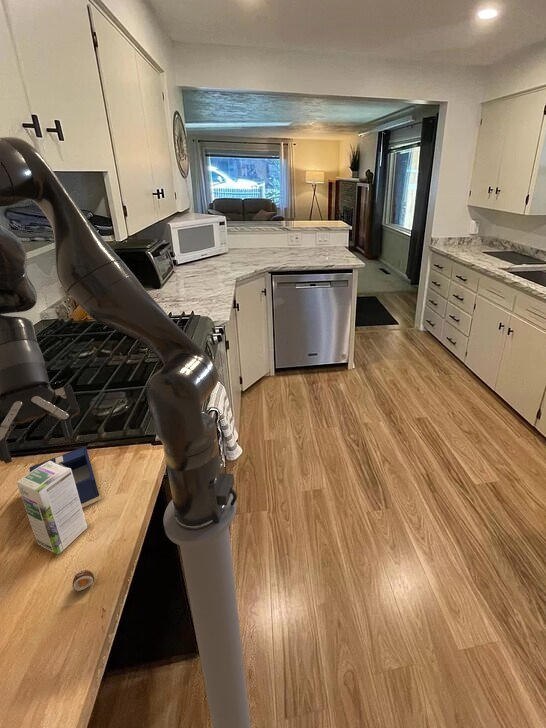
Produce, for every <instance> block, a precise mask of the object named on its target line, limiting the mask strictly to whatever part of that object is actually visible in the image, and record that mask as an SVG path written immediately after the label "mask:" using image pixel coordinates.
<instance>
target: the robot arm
mask: <svg viewBox="0 0 546 728" xmlns="http://www.w3.org/2000/svg"><path fill="white" fill-rule="evenodd" d="M30 201H31V202H33V203H35V205H36V206H38V208H39V209H40V210H41V211H42V214H43V215H44V216H45V217H46V219H47V220H48V222H49V224H50V226H51V229H52V234H53V238H54V240H53V241H54V252H55V254H54V255H55V266H56V274H57V278H58V280H59V283H60V285H61V286H62V288H63V289H64V290H65V291H66V292H67V293H68V294H69V296H70V297H71V298H72V299H73V300H74V301H75V302H76V304H77V305H78V306H79V307H80V308H81V309H82V310H83V312H85V313H86V314H87V316H89V317H90V318H91V319H93V320H95V321H96V322H98V323H99V324H101V325H103V326H106V327H108V328H110V329H113V330H116V331H117V332H119V333H121V334H124V335H127V336H129V337H130V338H132V339H135V340H137V341H139V342H140V343H142V345H144V346H146V347H147V348H148V349H149V350H150V351H151V352H152V354H154V356H156V358H157V359H158V360H159V361H160V363H161V364H162V367H160V368H158V370H157V371H156V372H155V373H153V375H152V376H150V377H149V380H148V381H147V384H146V393H145V394H146V401H147V407H148V409H149V413H150V418H151V421H152V425H153V428H154V432H155V435H156V436H157V438H158V439H159V440H160V442H161V444H162V446H163V447H162V448H163V452H164V459H165V464H166V470H167V475H168V482H169V487H170V492H171V493H170V494H171V498H172V499H173V504H174V511H175V518H176V522H177V523H178V525H179V526H180V527H182V528H184V529H186V530H200V529H203V528H206V527H208V526H210V525H211V524H214V523H219V522H220V519H221V516H222V513H223V511H224V508H225V506H227V504H228V501H229V498H230V494H232V495H233V499H232V501H231V503H230V504H231V505H232V506H233V505H234V503H235V501H236V502H237V500H238V494H237V492H236V491H235V489H234V485H235V475H234V473H226V469H225V462H224V460H221V459H220V451H219V442H218V441H219V440H218V430H217V425H216V421H215V419H214V418H213V417H212V416H211V415H210V414H209V413H205V412H202V405H203V404H204V402H205V401H206V400H207V399H208V397H209V396H210V395H211V394H212V392H213V391H214V390H215V388H217V385H218V382H219V372H218V370H217V367H216V365H215V363H214V361H213V360H212V359H211V357H210V356H209V355H208V354H207V353H206V352H205V351H204V350H203V349H202V348H201V347H200V346H199V345H198V344H197V343H196V342H195V341H194V340H193V339H192V338H191V337H190V336H189V335H188V334H187V333H185V332H184V331H183V329H182V328H181V327H179V326H178V325H177V324H176V322H174V320H172V318H171V317H170V316H169V315H168V314H167V312H165V310H164V309H163V307H161V306H160V304H159V303H158V302H157V301H156V300H155V299H154V298H153V296H152V295H151V294H150V293H149V292H148V291H147V289H146V288H145V287H144V286H143V284H142V283H141V282H140V280H139V279H138V278H137V277H136V275H135V274H134V273H133V272H132V270H130V268H129V267H128V266H127V264H126V263H125V262H124V261H123V260H122V259H121V258H120V256H119V255H118V254H117V253H116V252H115V251H114V250H113V248H112V247H111V246H110V245H109V244H108V243H107V242H106V240H105V238H104V237H102V235H101V234H100V233H99V232H98V231H97V229H96V228H95V227H94V226H93V224H92V223H91V222H90V220H88V219H87V217H86V215H85V214H84V213H83V211H82V210H81V208H80V207H79V206H78V204H77V203H76V202H75V200H74V199H73V198H72V196H71V195H70V193H69V192H68V190H67V189H66V188H65V186H64V185H63V183H62V181H61V180H60V178H59V177H58V176H57V174H56V173H55V171H54V170H53V169H52V167H51V166H50V165H49V163H48V162H47V161H46V160H45V158H44V157H43V155H41V154H40V153H39V151H38V150H37V149H36V148H35V147H34V146H32V145H31V144H30V143H29V142H28V141H26V140H25V139H22V138H20V137H15V136H1V137H0V208H5V207H11V206H15V205H18V204H23V203H26V202H27V203H28V202H30ZM37 303H38V294H37V291H36V289H35V286H34V284H33V283H32V281H31V280H30V278H29V276H28V274H27V251H26V247H25V245H24V243H23V242H22V240H21V239H20V238H19V237H18V236H17V235H16V234H15V233H13V232H12V231H11V230H10V229H8V228H7V227H5V226H4V225H2V224H1V223H0V415H1V416H3V417H5V418H4V419H3V421H2V422H1V424H0V463H1V462H2V463H3V462H4V463H5V464H7V465H8V464H10V463H13V462H12V461H13V460H12V456H11V450H10V446H9V442H8V441H7V439H8V438H9V436H10V435H11V434H12V432H13V431H14V430H15V428H16V426H17V425H18V424H22V425H23V424H26V423H28V422H30V421H32V420H38V419H42V418H44V416H46V415H49V416H51V417H54V418H55V419H58V420H60V425H61V429H62V434H63V438H64V440H65V442H66V443H68V442H71V438H73V437H74V430H73V426H72V424H71V420H72V419H73V418H74V417H76V416H78V415H80V413H81V411H80V407H79V404H78V401H77V398H76V396H75V393H74V390H73V387H72V384H70V383H66V384H64V386H63V387H60V388H56V389H53V387H51V383H50V382H51V381H50V378H49V375H48V370H47V367H46V361H45V358H44V355H43V352H42V350H41V348H40V345H39V342H38V338H37V334H36V330H35V327H34V324H33V322H32V321H31V319H28V318H26V317H23V316H13V315H12V316H10V315H5V314H14V313H23V312H28V311H30V310H31V309H33V308H34V307H35V306H36V304H37ZM57 396H59V397H60V398H61V399H63V400H65V399H66V400H67V402H68V405H69V407H70V409H68V411H64V410H62V409H61V408H59V407H58V406H56V405H54V404H53V403H54V402H55V400H56V398H57ZM172 499H171V500H172Z"/></svg>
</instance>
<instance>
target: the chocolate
mask: <svg viewBox="0 0 546 728" xmlns="http://www.w3.org/2000/svg"><path fill="white" fill-rule="evenodd" d="M72 575H74V577H73V580H72V585H71V586H72V588H73V589H74V590H75V591H76V592H80V591H84V590H85V589H87V588H89V587H90V586H91V585H92V584H93V583H94V582H95V577H96V576H95V575H94V573H93V572H92V571H91V570H88V569H87V568H83V569H80V570H77V571H73V572H72Z"/></svg>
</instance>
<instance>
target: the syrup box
mask: <svg viewBox="0 0 546 728" xmlns="http://www.w3.org/2000/svg"><path fill="white" fill-rule="evenodd" d="M16 486H17V488H18V490H19V493H20V496H21V500H22V503H23V505H24V509H25V511H26V515H27V518H28V520H29V524H30V526H31V529H32V532H33V535H34V538H35V540H36V544H37V545H39V546H40V547H42V548H44V549H45V550H48V551H50V552H52V553H53V554H56V555H60V554H61V553H62V552H64V550H65V549H67V548H68V547H69V546H70V545H71V544H72V543H73V542H74V541H75V540H76V539H77V538H78V537H79V536H80V535H81V534H82V533H83V532H84V531H86V530H87V528H88V524H87V521H86V517H85V514H84V510H83V508H82V506H81V502H80V499H79V496H78V492H77V488H76V485H75V481H74V478H73V474H72V470H71V468H67V467H65V466H63V465H61V464H58V463H55V462H53V461H48V462H46V463H44V464H43V465H41V466H39V467H38V468H36V469H35V470H33V471H32V472H30V471H29V472H28V473H27V474H26V475H25V476H23V477H22V478H20V479H19V480H18V481H17V482H16Z"/></svg>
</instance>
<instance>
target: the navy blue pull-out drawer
mask: <svg viewBox="0 0 546 728" xmlns="http://www.w3.org/2000/svg"><path fill="white" fill-rule="evenodd" d="M48 461H53V462H55V463H58V464H61V465H63V466H65V467H67V468H71V470H72V474H73V478H74V481H75V485H76V488H77V492H78V496H79V499H80V502H81V506H82V509H83V508H85V507H88V506H90V505H92V504H94V503H96V502H98V501H100V500H101V496H100V492H99V489H98V485H97V482H96V478H95V474H94V470H93V468H92V463H91V459H90V457H89V451H88V449H87V446H86V445H84V446H81V447H79V448H76V449H73V450H71V451H68V452H66V453H63V454H60V455H58V456H56V457H53V458H50V459H47V460H44V461H42V462H40V463H37V464H35V465H31V466H29V467H28V468H29V469H28V470H29V473H30V472H32V471H33V470H35V469H36V468H38V467H39V466H41V465H43V464H44V463H46V462H48Z"/></svg>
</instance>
